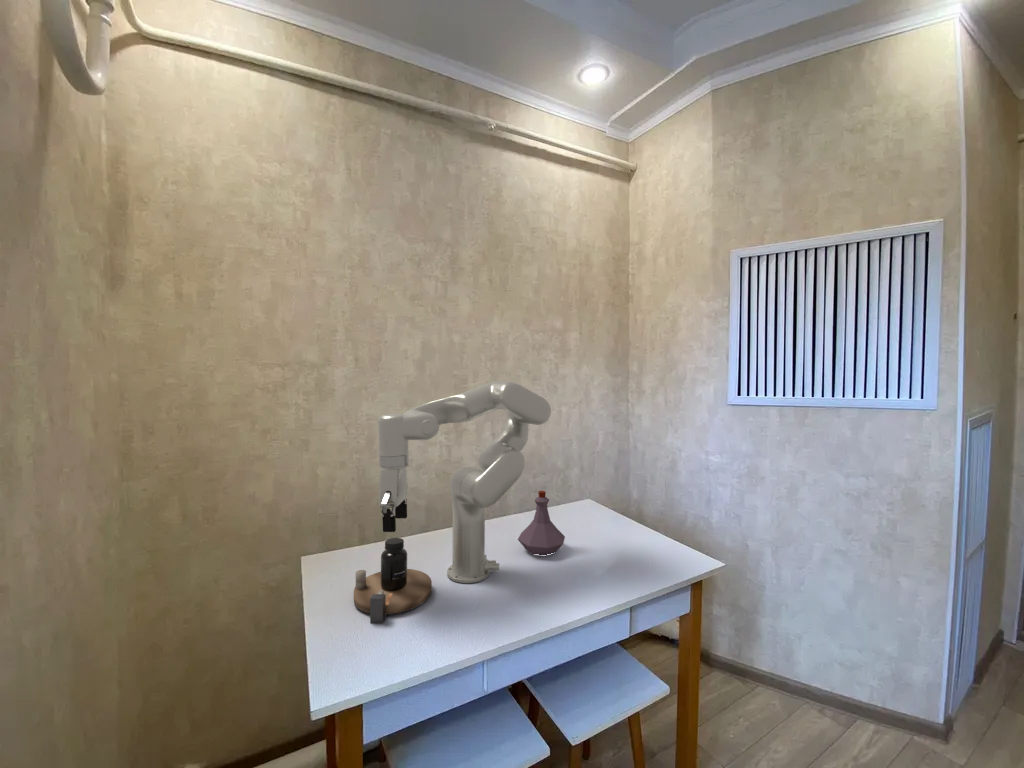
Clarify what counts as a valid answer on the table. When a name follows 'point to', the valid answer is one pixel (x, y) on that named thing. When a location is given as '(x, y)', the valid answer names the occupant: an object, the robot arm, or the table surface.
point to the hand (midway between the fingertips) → (395, 524)
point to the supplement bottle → (394, 565)
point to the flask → (541, 531)
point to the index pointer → (378, 608)
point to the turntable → (395, 600)
